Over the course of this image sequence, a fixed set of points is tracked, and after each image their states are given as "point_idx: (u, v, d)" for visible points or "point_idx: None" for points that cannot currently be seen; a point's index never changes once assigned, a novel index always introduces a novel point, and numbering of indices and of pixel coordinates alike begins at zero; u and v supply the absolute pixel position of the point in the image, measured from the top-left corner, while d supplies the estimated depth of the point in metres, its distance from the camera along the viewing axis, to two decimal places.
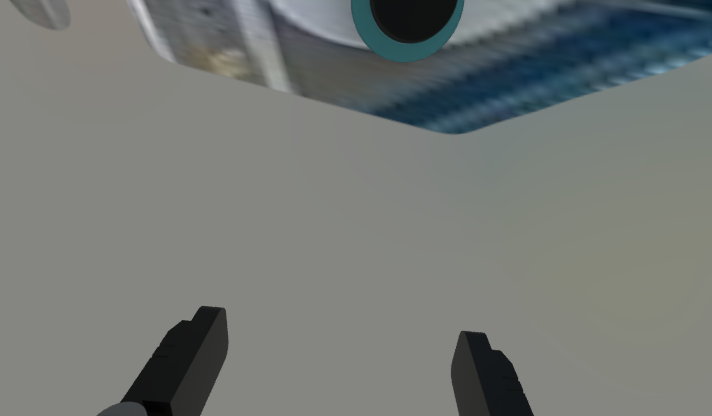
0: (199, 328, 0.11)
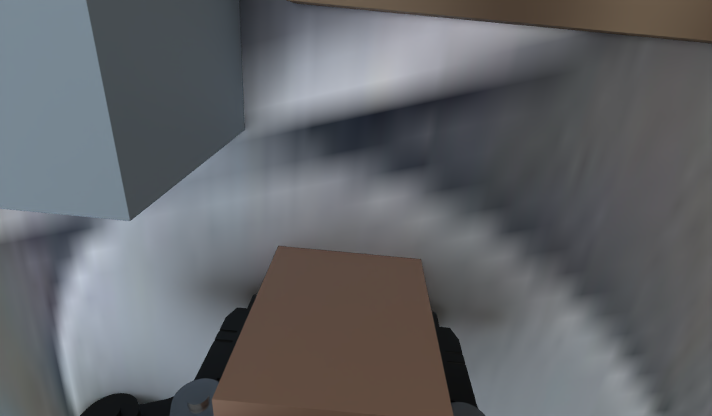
0: None
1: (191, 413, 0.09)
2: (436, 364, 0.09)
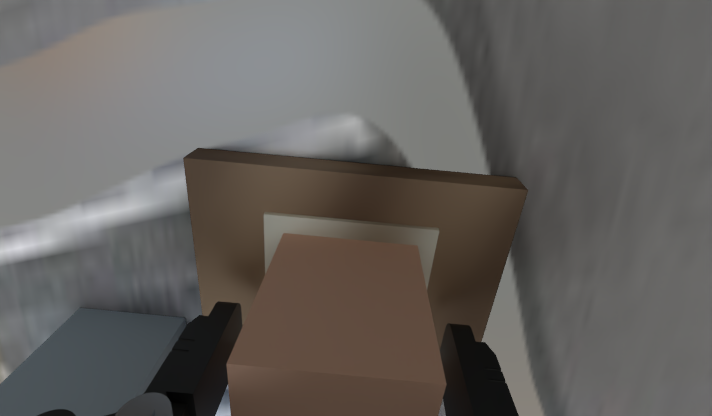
0: (217, 323, 0.11)
1: None
2: (430, 336, 0.10)
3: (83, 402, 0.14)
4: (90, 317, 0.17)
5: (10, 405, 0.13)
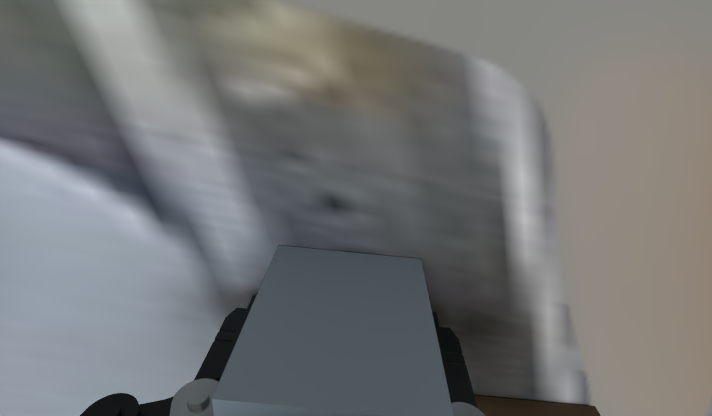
0: None
1: (191, 413, 0.09)
2: None
3: None
4: None
5: None
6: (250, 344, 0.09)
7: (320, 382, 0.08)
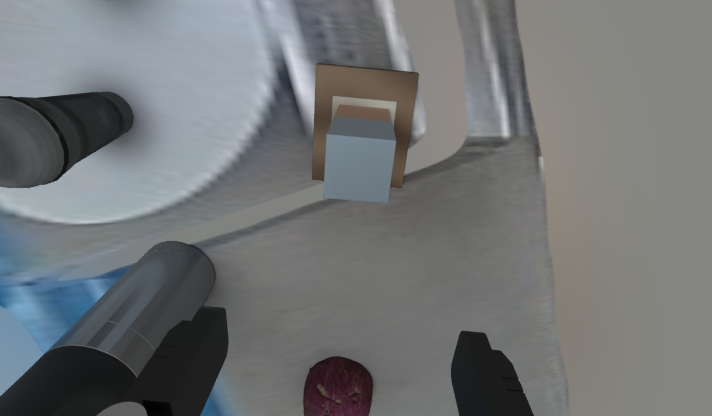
0: (199, 328, 0.11)
1: None
2: None
3: None
4: None
5: None
6: (333, 129, 0.28)
7: (356, 134, 0.27)
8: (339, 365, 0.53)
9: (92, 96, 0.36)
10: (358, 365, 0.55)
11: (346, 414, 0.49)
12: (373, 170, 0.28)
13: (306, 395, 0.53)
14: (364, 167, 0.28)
